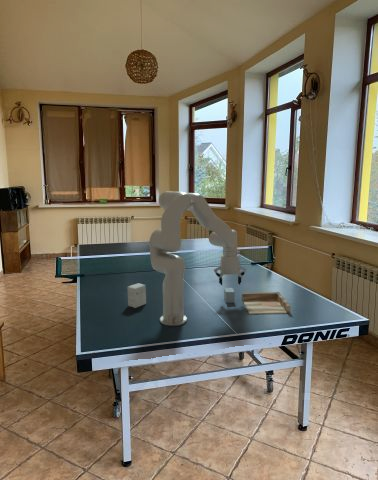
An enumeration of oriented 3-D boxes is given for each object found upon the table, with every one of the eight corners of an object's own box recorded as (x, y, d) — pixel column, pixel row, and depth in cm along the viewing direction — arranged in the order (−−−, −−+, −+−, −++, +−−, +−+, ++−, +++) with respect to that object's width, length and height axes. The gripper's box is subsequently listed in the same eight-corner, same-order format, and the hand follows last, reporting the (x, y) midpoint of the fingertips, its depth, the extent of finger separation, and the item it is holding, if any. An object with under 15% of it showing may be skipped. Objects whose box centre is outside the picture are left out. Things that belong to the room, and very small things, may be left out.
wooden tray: (289, 313, 184) (290, 305, 183) (249, 314, 183) (249, 306, 182) (278, 299, 203) (278, 292, 203) (242, 300, 203) (242, 292, 202)
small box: (139, 301, 201) (138, 282, 199) (146, 303, 198) (145, 284, 196) (127, 305, 195) (127, 286, 193) (135, 308, 192) (134, 288, 190)
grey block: (234, 302, 199) (234, 291, 198) (225, 302, 199) (226, 292, 198) (232, 298, 206) (232, 287, 205) (224, 298, 206) (224, 287, 205)
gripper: (245, 250, 202) (244, 281, 205) (212, 252, 201) (213, 282, 204) (247, 254, 194) (247, 285, 198) (214, 255, 194) (214, 287, 197)
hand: (230, 284), depth 201 cm, fingers open, 9 cm apart
